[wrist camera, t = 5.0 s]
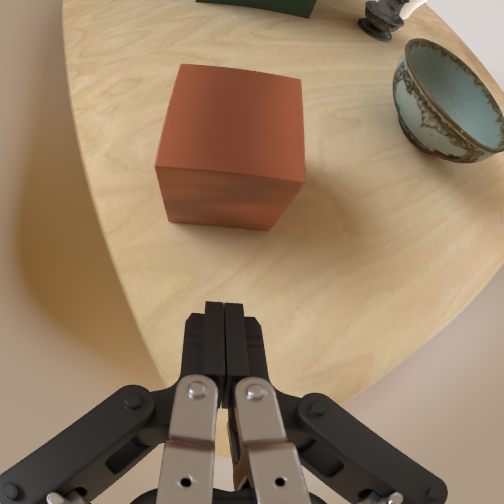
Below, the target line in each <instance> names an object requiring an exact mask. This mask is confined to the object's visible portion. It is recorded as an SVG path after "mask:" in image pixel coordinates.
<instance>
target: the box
mask: <svg viewBox="0 0 504 504" xmlns="http://www.w3.org/2000/svg"><path fill="white" fill-rule="evenodd" d="M196 2H209V3H221V4H231V5H239V6H247V7H254V8H260V9H266V10H272V11H277V12H282V13H287V14H292V15H296V16H301V17H305V18H309V17H310V15H311V12H312V10H313V8H314V5H315V3H316V0H196Z"/></svg>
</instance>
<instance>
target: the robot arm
mask: <svg viewBox="0 0 504 504" xmlns="http://www.w3.org/2000/svg"><path fill="white" fill-rule="evenodd" d="M221 401H222V408H224V409H228V423H227V429H228V436H229V443H230V450H231V456H232V463H233V482H234V489H235V491H233V492H228V491H224V490H219V489H215V488H213V474H214V457H215V430H216V418H217V411H218V408H220V405H221ZM161 443H165V445H164V450H163V457H162V463H161V471H160V477H159V485H158V488H157V489H153V490H150V491H148V492H146V493H144V494H142V495H140V496H139V497H137V498H136V499H135V500H134V501H132V502H131V503H130V504H327V503H326V502H325V501H323V500H322V499H321V498H319V497H317V496H316V495H314V494H312V493H310V492H308V489H307V485H306V482H305V478H304V474H303V470H302V467H301V465H303V466H304V467H305V468H306V469H308V470H309V471H310V472H311V473H312V474H313V475H315V476H316V477H317V478H319V479H320V480H321V481H322V482H323V483H325V484H326V485H327V486H329V487H330V488H331V489H332V490H334V491H335V492H336V493H338V494H339V495H341V496H342V497H343V498H344V499H346V500H347V501H349V502H350V503H351V504H444V503H445V501H446V499H447V495H448V491H447V486H446V484H445V483H444V482H443V481H442V480H441V479H440V478H438V477H437V476H435V475H434V474H432V473H431V472H429V471H428V470H426V469H425V468H423V467H422V466H420V465H419V464H417V463H416V462H415V461H413V460H412V459H410V458H409V457H408V456H406V455H405V454H403V453H402V452H400V451H399V450H398V449H396V448H395V447H393V446H392V445H391V444H389V443H388V442H387V441H385V440H384V439H382V438H381V437H380V436H378V435H377V434H376V433H374V432H373V431H372V430H370V429H369V428H368V427H366V426H365V425H364V424H362V423H361V422H360V421H358V420H357V419H356V418H355V417H353V416H352V415H351V414H349V413H348V412H347V411H345V410H344V409H343V408H342V407H340V406H339V405H338V404H337V403H335V402H334V401H333V400H332V399H330V398H329V397H327V396H326V395H324V394H320V393H310V394H307V395H305V396H304V397H302V398H298V397H295V396H291V395H287V394H284V393H282V392H280V391H278V390H277V389H276V388H275V387H274V386H273V385H272V384H271V382H270V380H269V376H268V370H267V363H266V356H265V349H264V343H263V336H262V329H261V326H260V324H259V323H258V321H257V320H256V318H255V317H244V311H243V304H239V303H223V302H210V301H206V303H205V314H200V313H191V315H190V316H189V318H188V319H187V320H186V323H185V333H184V343H183V353H182V364H181V374H180V377H179V379H178V381H177V382H176V383H175V384H174V385H173V386H171V387H169V388H167V389H164V390H159V391H153V392H149V391H148V390H147V389H146V388H144V387H142V386H139V385H127V386H124V387H122V388H120V389H119V390H118V391H116V392H115V393H114V394H112V395H111V396H110V397H108V398H107V399H106V400H104V401H103V402H102V403H100V404H99V405H97V406H96V407H95V408H93V409H92V410H91V411H89V412H88V413H87V414H85V415H84V416H83V417H81V418H80V419H79V420H77V421H76V422H74V423H73V424H72V425H70V426H69V427H68V428H66V429H65V430H63V431H62V432H61V433H59V434H58V435H56V436H55V437H54V438H52V439H51V440H50V441H48V442H47V443H45V444H44V445H43V446H41V447H40V448H38V449H37V450H36V451H34V452H33V453H31V454H30V455H28V456H27V457H25V458H24V459H23V460H21V461H20V462H18V463H17V464H16V465H14V466H13V467H11V468H10V469H8V470H7V471H5V472H4V473H2V474H1V475H0V503H1V504H91V503H90V502H91V501H92V500H93V499H95V498H96V497H97V496H98V495H100V494H101V493H102V492H103V491H105V490H106V489H107V488H108V487H110V486H111V485H112V484H113V483H115V482H116V481H117V480H118V479H119V478H121V477H122V476H123V475H124V474H125V473H126V472H128V471H129V470H130V469H131V468H132V467H134V466H135V465H136V464H137V463H138V462H139V461H141V460H142V459H143V458H144V457H145V456H146V455H147V454H148V453H150V452H151V451H152V450H153V449H154V448H155V447H156V446H157V445H158V444H161Z"/></svg>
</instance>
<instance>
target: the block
mask: <svg viewBox="0 0 504 504" xmlns="http://www.w3.org/2000/svg"><path fill="white" fill-rule="evenodd" d="M155 170H156V174H157V178H158V182H159V186H160V190H161V194H162V198H163V202H164V206H165V209H166V213H167V217H168V221H169V222H179V223H190V224H201V225H212V226H223V227H233V228H243V229H253V230H263V231H269V229H270V228H271V227H272V225H273V224H274V223H275V222H276V220H277V219H278V218H279V216H280V215H281V214H282V212H283V211H284V210H285V209H286V207H287V206H288V205H289V203H290V202H291V201H292V200H293V198H294V197H295V196H296V194H297V193H298V192H299V191H300V189H301V188H302V187H303V185H304V184H305V146H304V122H303V102H302V86H301V80H300V79H295V78H290V77H285V76H280V75H274V74H268V73H262V72H256V71H249V70H242V69H234V68H226V67H216V66H206V65H192V64H181V65H180V68H179V71H178V74H177V78H176V81H175V85H174V88H173V92H172V95H171V99H170V103H169V106H168V110H167V114H166V118H165V122H164V126H163V130H162V134H161V139H160V143H159V147H158V152H157V157H156V161H155Z"/></svg>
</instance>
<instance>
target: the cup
mask: <svg viewBox="0 0 504 504" xmlns="http://www.w3.org/2000/svg"><path fill="white" fill-rule="evenodd" d="M378 1H379V0H376V2H378ZM409 1H410V2H409V3H405V5H404V6H403V8H402V9H401V12H400V15H399V16H400V17H401V18H402V19H404V20H405V19H407V18H408V16H409V15H410V14H411V13H412V12H413V11H414V10H415V9H416V8H418V7H419V6H420V5H421V4H423V3H424V2H425V1H427V0H409Z"/></svg>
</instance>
